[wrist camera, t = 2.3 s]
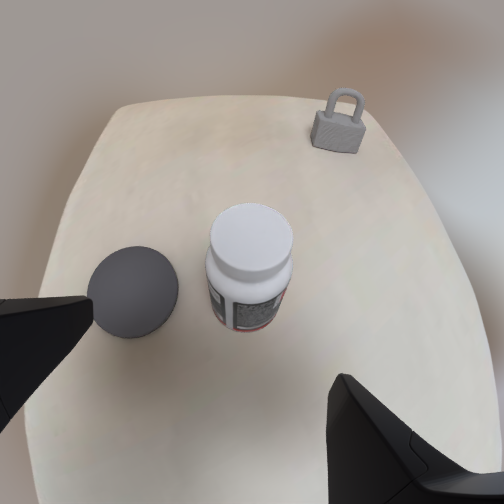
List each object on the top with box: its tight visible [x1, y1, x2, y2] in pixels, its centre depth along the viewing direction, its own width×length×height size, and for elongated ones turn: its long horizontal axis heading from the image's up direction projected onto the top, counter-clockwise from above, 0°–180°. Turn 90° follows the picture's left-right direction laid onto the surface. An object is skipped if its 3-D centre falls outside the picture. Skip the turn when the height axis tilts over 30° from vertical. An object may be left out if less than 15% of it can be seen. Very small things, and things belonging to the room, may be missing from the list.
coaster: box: [87, 246, 178, 338], centre depth 23 cm, size 9×9×1 cm
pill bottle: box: [205, 203, 293, 332], centre depth 19 cm, size 6×6×10 cm
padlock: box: [311, 88, 366, 153], centre depth 33 cm, size 7×4×10 cm, turn 89°
